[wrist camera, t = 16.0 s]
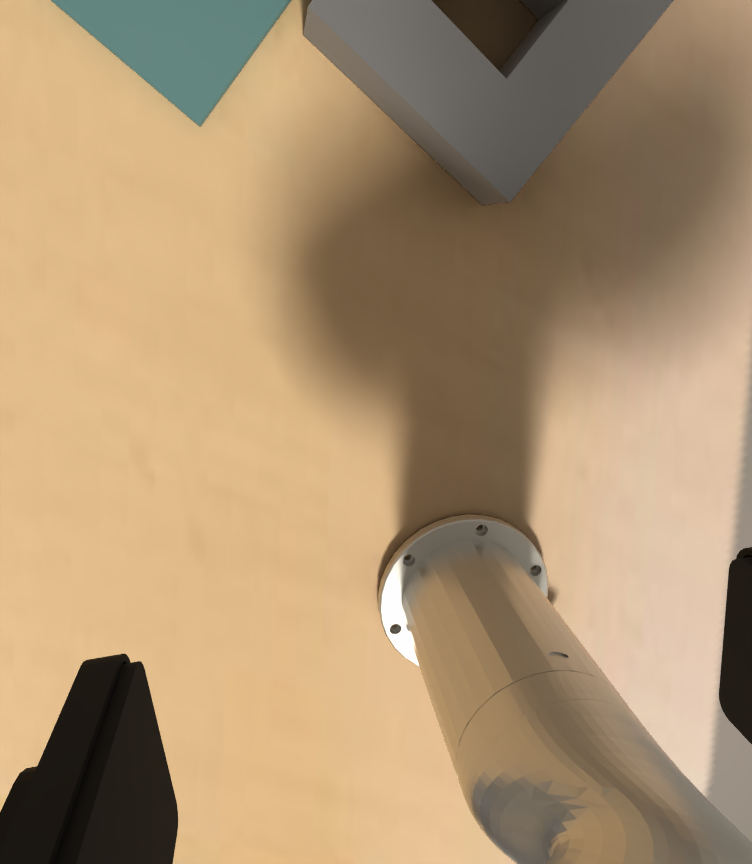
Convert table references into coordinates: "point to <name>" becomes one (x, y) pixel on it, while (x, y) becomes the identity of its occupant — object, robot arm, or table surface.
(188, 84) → the mat
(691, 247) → the table surface
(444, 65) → the block
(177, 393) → the table surface
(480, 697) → the robot arm
